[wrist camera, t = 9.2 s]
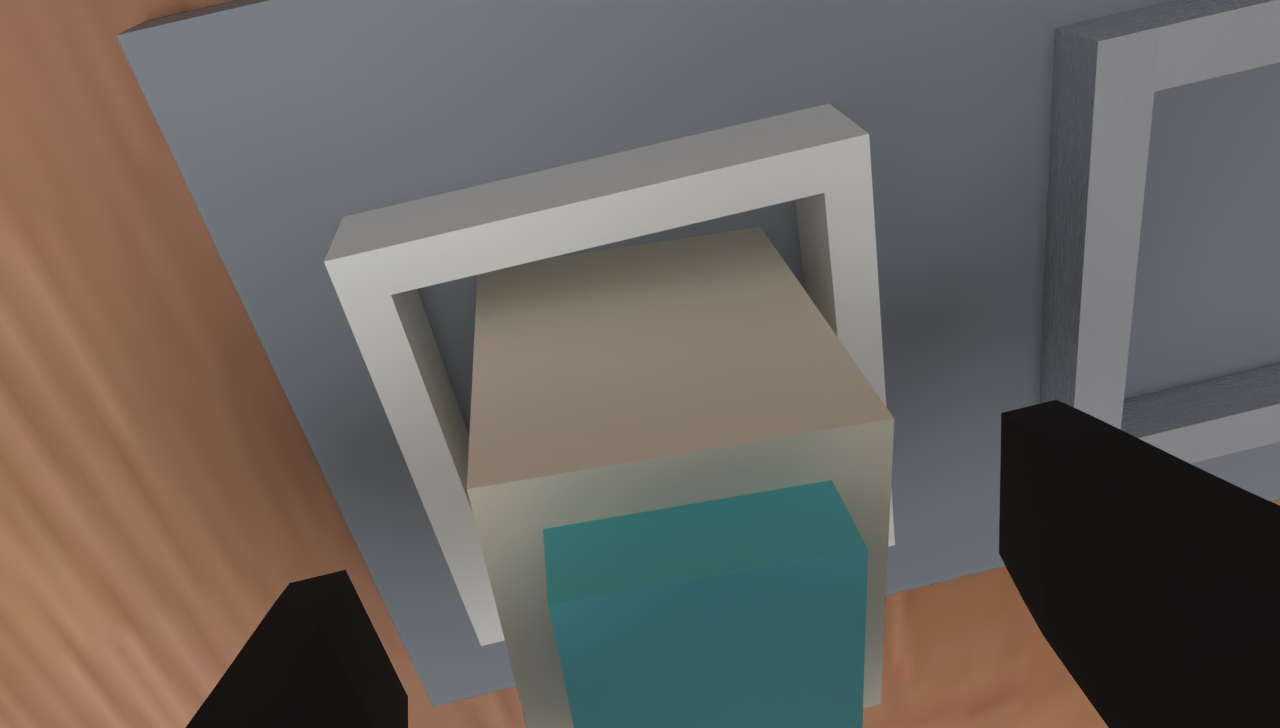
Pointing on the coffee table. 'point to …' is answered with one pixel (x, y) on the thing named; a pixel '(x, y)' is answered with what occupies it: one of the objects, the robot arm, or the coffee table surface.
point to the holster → (1136, 218)
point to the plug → (678, 490)
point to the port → (580, 219)
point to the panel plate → (684, 106)
